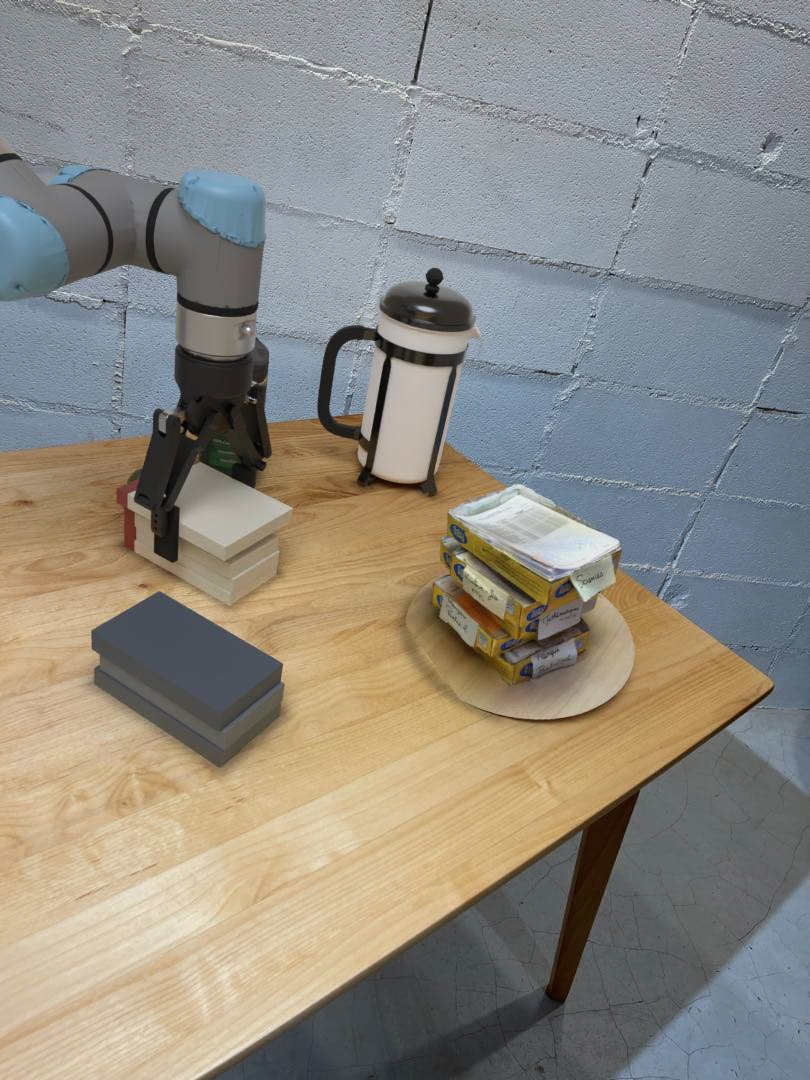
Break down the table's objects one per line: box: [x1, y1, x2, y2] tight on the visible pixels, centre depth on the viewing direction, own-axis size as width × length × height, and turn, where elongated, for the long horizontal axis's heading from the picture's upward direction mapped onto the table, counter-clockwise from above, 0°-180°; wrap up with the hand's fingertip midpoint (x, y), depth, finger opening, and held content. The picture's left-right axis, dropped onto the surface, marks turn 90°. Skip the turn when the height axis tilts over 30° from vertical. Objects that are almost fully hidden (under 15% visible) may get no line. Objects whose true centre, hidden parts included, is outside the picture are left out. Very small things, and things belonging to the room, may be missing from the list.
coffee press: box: [316, 267, 483, 497], centre depth 110 cm, size 17×16×30 cm
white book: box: [116, 459, 294, 561], centre depth 88 cm, size 15×11×2 cm
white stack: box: [123, 507, 281, 606], centre depth 91 cm, size 16×8×5 cm, turn 59°
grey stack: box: [90, 590, 286, 769], centre depth 73 cm, size 15×8×7 cm, turn 59°
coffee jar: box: [197, 336, 270, 477], centre depth 106 cm, size 10×8×19 cm
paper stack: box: [405, 483, 636, 720], centre depth 86 cm, size 25×25×17 cm
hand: (204, 535), depth 90 cm, fingers closed on white book, 11 cm apart
